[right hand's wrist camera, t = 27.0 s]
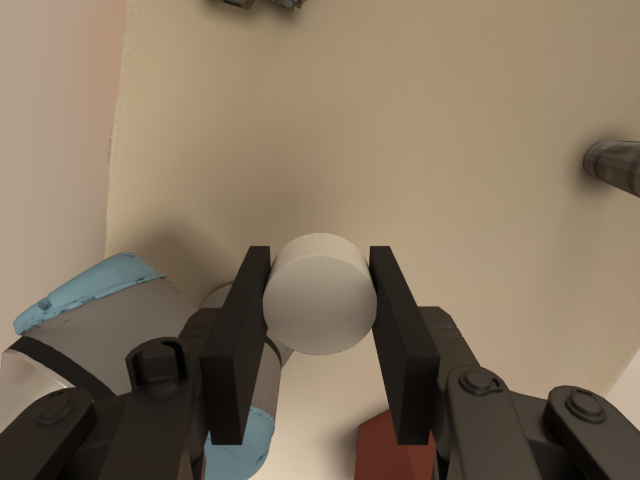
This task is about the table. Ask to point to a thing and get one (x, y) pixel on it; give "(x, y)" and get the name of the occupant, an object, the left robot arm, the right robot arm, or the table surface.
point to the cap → (319, 295)
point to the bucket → (390, 453)
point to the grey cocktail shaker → (616, 164)
